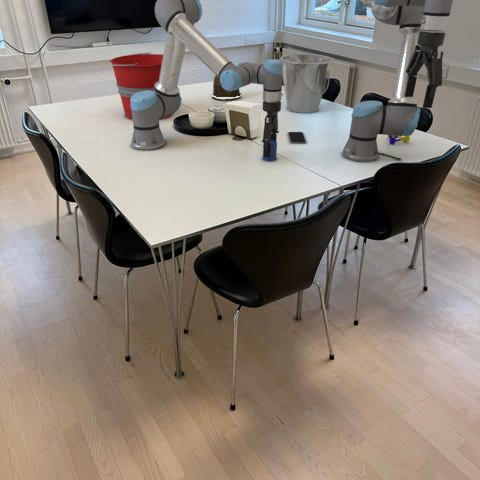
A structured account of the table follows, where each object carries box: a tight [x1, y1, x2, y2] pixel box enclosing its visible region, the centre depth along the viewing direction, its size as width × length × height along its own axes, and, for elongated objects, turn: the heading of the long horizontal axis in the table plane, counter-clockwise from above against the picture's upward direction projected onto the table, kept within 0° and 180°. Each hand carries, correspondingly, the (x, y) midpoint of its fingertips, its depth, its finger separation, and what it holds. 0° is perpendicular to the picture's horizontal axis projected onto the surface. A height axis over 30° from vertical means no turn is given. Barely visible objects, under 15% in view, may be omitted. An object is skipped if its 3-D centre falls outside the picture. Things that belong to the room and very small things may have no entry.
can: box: [262, 140, 278, 162], centre depth 191 cm, size 6×6×8 cm
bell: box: [212, 74, 242, 97], centre depth 278 cm, size 19×26×20 cm
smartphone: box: [288, 131, 307, 144], centre depth 215 cm, size 7×1×15 cm
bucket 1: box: [107, 51, 173, 121], centre depth 241 cm, size 35×35×30 cm
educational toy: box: [387, 123, 418, 145], centre depth 207 cm, size 16×13×15 cm
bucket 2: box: [279, 53, 334, 114], centre depth 253 cm, size 30×30×28 cm
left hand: (269, 152), depth 191 cm, fingers open, 11 cm apart
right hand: (417, 102), depth 145 cm, fingers open, 13 cm apart
